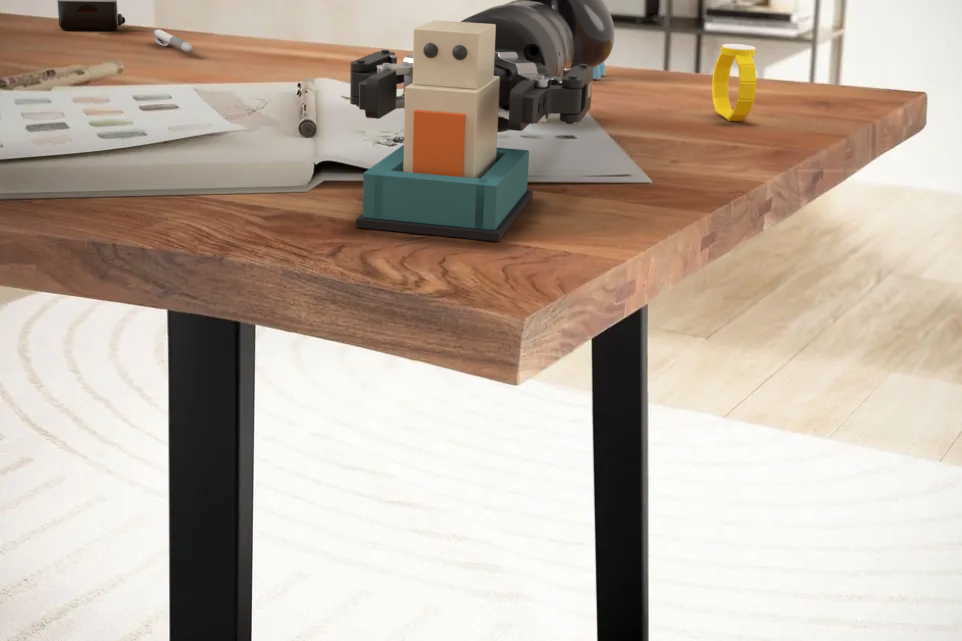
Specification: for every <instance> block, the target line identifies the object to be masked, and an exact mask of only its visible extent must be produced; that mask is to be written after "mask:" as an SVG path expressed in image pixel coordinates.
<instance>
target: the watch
mask: <svg viewBox="0 0 962 641" xmlns="http://www.w3.org/2000/svg"><path fill="white" fill-rule="evenodd" d="M756 50H757V49H756V46H753V45H748V44H742V43H724V44H722V45H721V47H720V53H719V54H718V57H717V60H716V62H715V65H714V68H713V74H712V79H711V81H712V82H711V88H712V89H711V97H712V103H713V107H714V111H715V113H716V114H718V115H720V116H722V117H723V118H724V119H725V120H727V121H728V122H744V120H745V119H746V118H747V117H748V116H749V115H750V113H751V111H752V108H753V106H754V103H755V99H756V92H757V91H756V90H757V71H756V70H757V69H756V64H755V62H754V59H753V58H754V57H755V56H756ZM734 62H736V65H737V70H738V81H739V83H738V93H737V99H736V102H735V104H734V108H733V109H732V106H731V102H730V98H729V80H730V76H731V69H732V66H733V63H734Z"/></svg>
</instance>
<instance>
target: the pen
mask: <svg viewBox="0 0 962 641" xmlns="http://www.w3.org/2000/svg"><path fill="white" fill-rule="evenodd" d="M152 35H153V36H154V37H155V43H157V44H158V45H161V46H164V47H170V46H172V47H174V48H176V49H178V50H180V51H182V52H184V53H192V52H193V50H194V48H193V46H192V44H190V42H188V41H187V40H184V39H182V38H180V37H178V36H175V35H172V34H170V33H168V32H166V31H164V30H162V29H160V28H154V30H153V31H152Z"/></svg>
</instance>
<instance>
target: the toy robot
mask: <svg viewBox="0 0 962 641" xmlns="http://www.w3.org/2000/svg"><path fill="white" fill-rule="evenodd" d="M495 32H496V25H495V24H484V23H469V22H460V21H451V20H439V19H438V20H437V19H435V20H432V21H430V22H427V23H424V24H423V25H420V26H417V27H414V28H413V43H412V44H413V48H412V54H413V83H412V84H410V85H408V86H406V87H405V109H404V118H403V120H404V122H403V125H404V126H403V145H404V170H403V172H412V173H423V174H434V175H445V176H456V177H467V178H478V179H481V178H482V177H483V176H484V175H485V174H486V173H487V172H488V171H489V170H490V169H491V168H492V167H493V166H494V165H495V164H496V152H497V148H498V132H497V129H498V106H499V84H500V77H499V76H494V55H495Z"/></svg>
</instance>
